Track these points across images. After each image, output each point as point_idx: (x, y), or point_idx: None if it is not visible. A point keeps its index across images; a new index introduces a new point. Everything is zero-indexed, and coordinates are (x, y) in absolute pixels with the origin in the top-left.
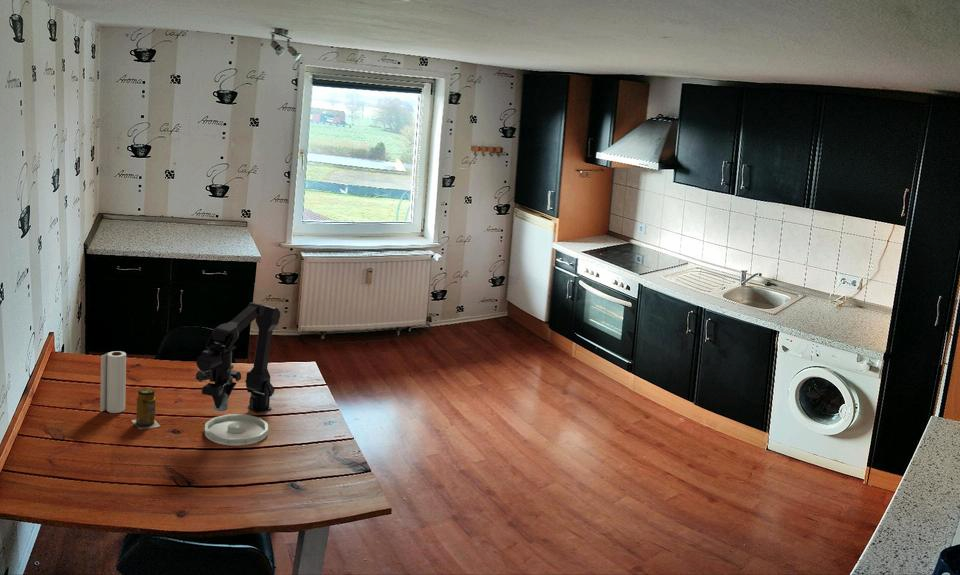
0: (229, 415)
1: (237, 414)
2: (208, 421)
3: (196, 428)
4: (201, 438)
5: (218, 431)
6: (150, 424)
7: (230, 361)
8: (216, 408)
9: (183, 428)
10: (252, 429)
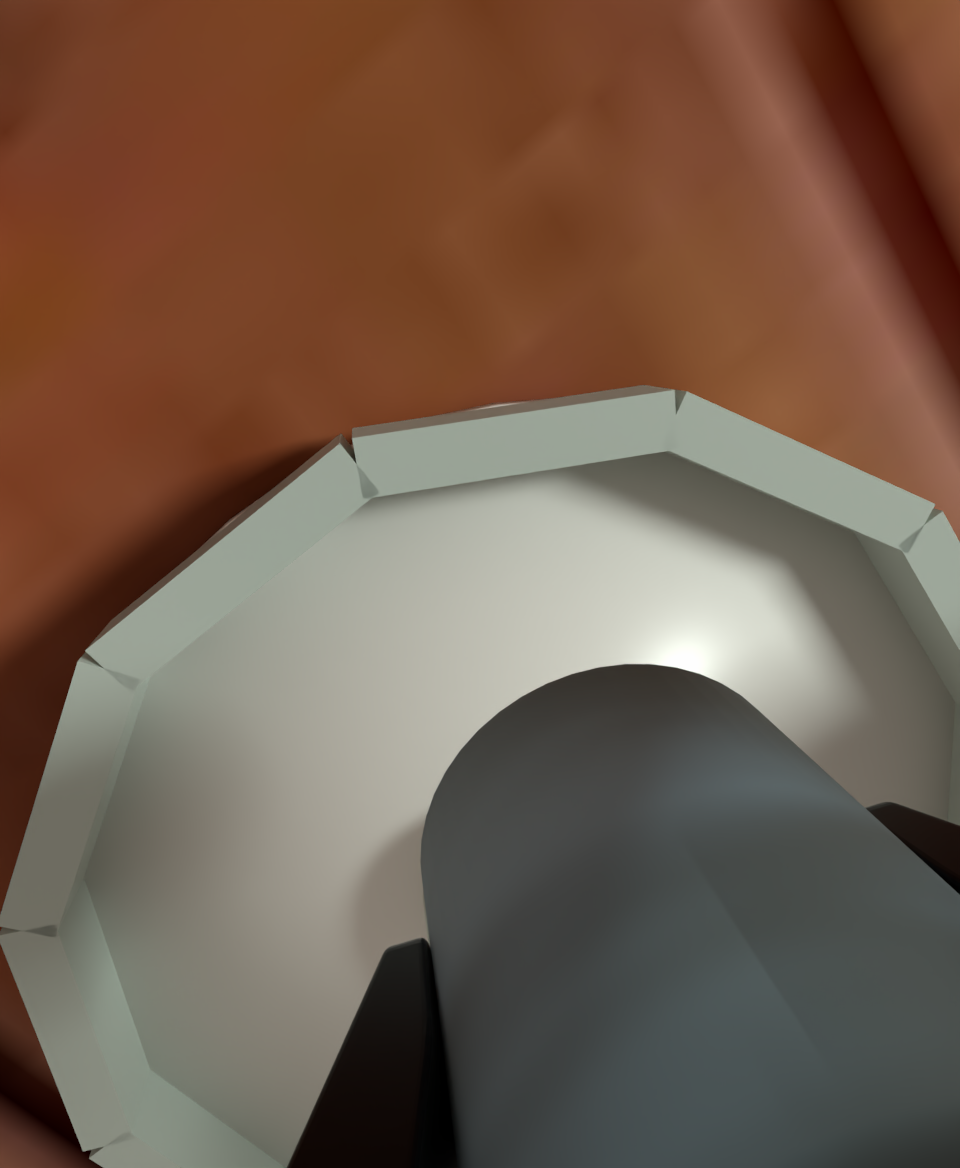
0: (903, 558)
1: None
2: (458, 433)
3: (282, 263)
4: (18, 624)
5: (354, 723)
6: None
7: None
8: (427, 903)
9: (102, 26)
10: None
